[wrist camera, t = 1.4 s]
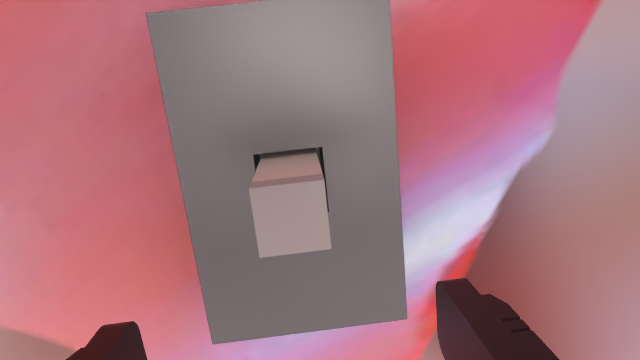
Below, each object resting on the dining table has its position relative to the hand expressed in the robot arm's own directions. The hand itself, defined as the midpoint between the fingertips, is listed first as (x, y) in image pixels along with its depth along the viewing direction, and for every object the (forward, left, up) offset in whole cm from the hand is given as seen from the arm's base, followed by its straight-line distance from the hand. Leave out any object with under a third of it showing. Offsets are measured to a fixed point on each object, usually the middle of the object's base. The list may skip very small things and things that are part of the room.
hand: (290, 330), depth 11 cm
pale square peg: (0, 0, -20) cm, 20 cm away
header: (0, 0, -20) cm, 20 cm away
